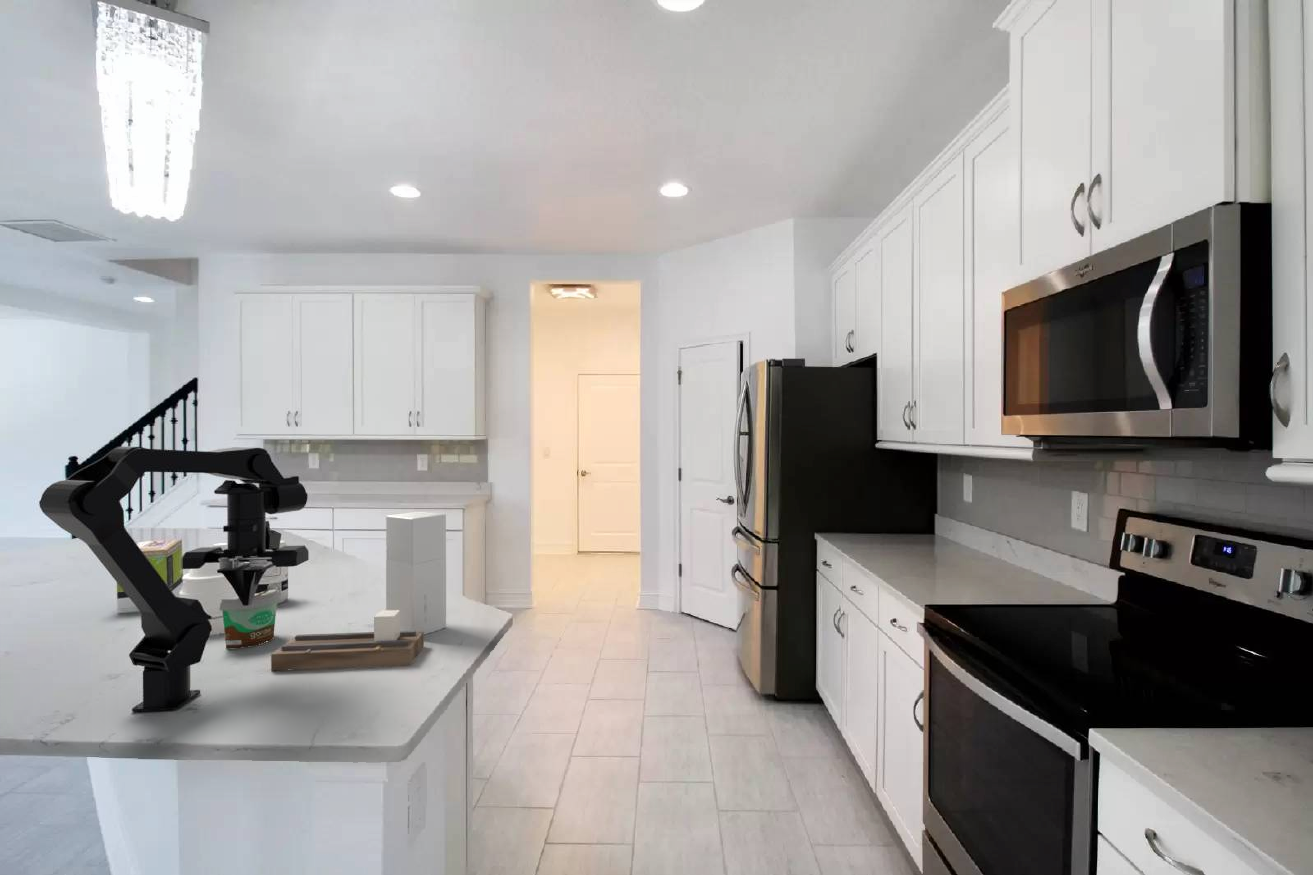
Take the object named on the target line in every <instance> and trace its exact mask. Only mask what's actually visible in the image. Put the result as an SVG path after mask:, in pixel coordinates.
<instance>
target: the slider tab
mask: <svg viewBox="0 0 1313 875" xmlns="http://www.w3.org/2000/svg"><path fill="white" fill-rule="evenodd" d="M373 629H374V630H373V632H374V641H393V640H397V639H398V638H399V636H400V610H387V611H386V610H380V611H378V612H377V614H375V615H374V617H373Z"/></svg>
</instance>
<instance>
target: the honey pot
mask: <svg viewBox="0 0 1313 875" xmlns="http://www.w3.org/2000/svg"><path fill="white" fill-rule="evenodd" d="M212 547H221V548H222V550H224V549H227V548H228V542H227V543H226V542H225V543H224V542H222V543H221V542H220V543H214V544H213V546H212ZM218 569H220V563H206V564H204V565H203V566H202V567H201V568H199V569H189V572H188V573H186V574H183V577H182V580H183V583H184V585H183V587H182V590H181V591H180V592H179V597H181V598H189V599H196V600H198V601H199V602H200V603H201V605H202V607H203V609H204V611H205V612H206V613H207V614H208V615H210V616H212V618H211V619H208V620H209V621H210V624H211V626H212V631H211V632H210V635H211V636H216V635H221V634H225V633H224V621H223V611H220V610H219V609H220V603H222V599H238V598H239V597H238V596H237V594H236V592H235V590H234V589H233V587H232V586H231V584H230V583H229V582H228V580H227V579H226V578H225V576H224V575H223V574H222V573H217V570H218ZM220 633H221V634H220Z"/></svg>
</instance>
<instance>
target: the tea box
mask: <svg viewBox="0 0 1313 875" xmlns="http://www.w3.org/2000/svg"><path fill="white" fill-rule="evenodd" d="M135 543H136V544H137V545H138V547H139V548H140V549H141V551H142V552H143V553H144V555H145V556H146V557H147V559H148V560H149V561H150V563H151V564H152V566H153V567H154V568H155V570H156V571H157V572H158V574H159V575H160V576H161V578H162V579H163V580H164V582H165V583H166V584H167V586H168V587H169V588H170V590H171V591H172V592H173V594H174V595H175V596H176V597H179V592H180V591H181V590H182V587H183V585H184V581H183V580H182V577H183V576H184V569H181V559H182V557H183V539H182V538H179V539H177V538H176V539H162V540H161V539H159V540H150V541H149V540H148V541H137V542H136V541H135ZM116 602H117V603H116V605H117V613H118V614H126V613H127V614H128V613H137V612H139V613H140V611H139V609H138V608H137V607H136V606H135V604H134V603H133V602H132V601H131V599H130V598H129V597H128V596H127V594H126V593H125V592H124V590H123V589H122V588H121V587H120V585H119V584H118V583H117V582H116Z"/></svg>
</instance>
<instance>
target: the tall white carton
mask: <svg viewBox="0 0 1313 875" xmlns="http://www.w3.org/2000/svg"><path fill="white" fill-rule="evenodd" d="M385 521H386V522H385V523H386V525H385V526H386V528H385V530H386V531H385V536H386V537H385V538H386V539H385V541H386V542H385V544H386V545H385V547H386V550H385V551H386V552H385V554H386V556H385V557H386V559H385V566H386V567H385V594H386V595H385V596H386V598H385V599H386V600H385V606H386V607H385V611H387V610H400V631H415V630H416V632H424V636H425V635H428V634H432V633H434V632H437V631H440V630H443V628H444V629H446V628H447V549H446V548H447V515H446V514H445V513H439V512H430V511H427V512H426V511H413V512H407V513H406V512H405V513H399V514H397V513H396V514H390V515H389V514H388V515H386V517H385Z"/></svg>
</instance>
